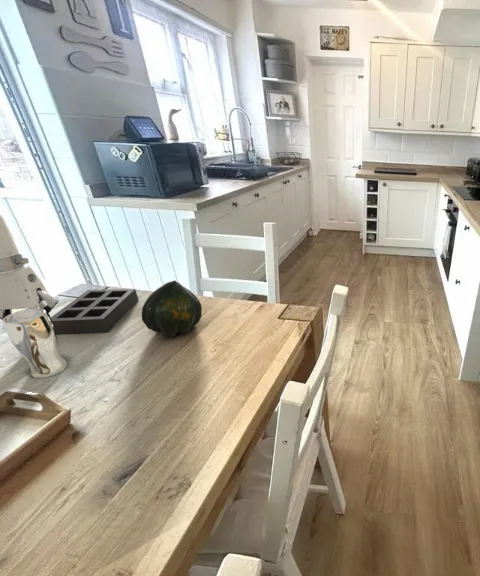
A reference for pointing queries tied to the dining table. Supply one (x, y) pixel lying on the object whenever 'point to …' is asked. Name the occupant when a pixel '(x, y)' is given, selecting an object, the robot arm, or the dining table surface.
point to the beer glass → (35, 341)
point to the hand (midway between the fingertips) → (31, 328)
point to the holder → (94, 311)
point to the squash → (171, 309)
